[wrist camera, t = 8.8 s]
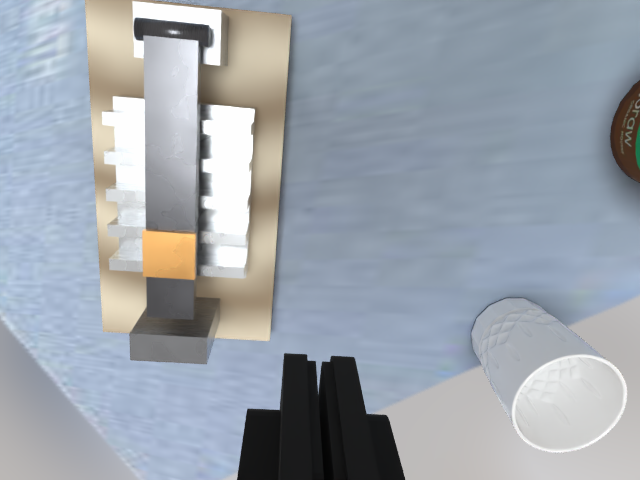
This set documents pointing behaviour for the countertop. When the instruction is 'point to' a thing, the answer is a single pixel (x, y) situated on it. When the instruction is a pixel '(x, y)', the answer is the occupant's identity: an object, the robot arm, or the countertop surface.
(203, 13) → the heat sink
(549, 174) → the countertop surface
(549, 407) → the white cup
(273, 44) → the board
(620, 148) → the food container
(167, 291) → the strap
